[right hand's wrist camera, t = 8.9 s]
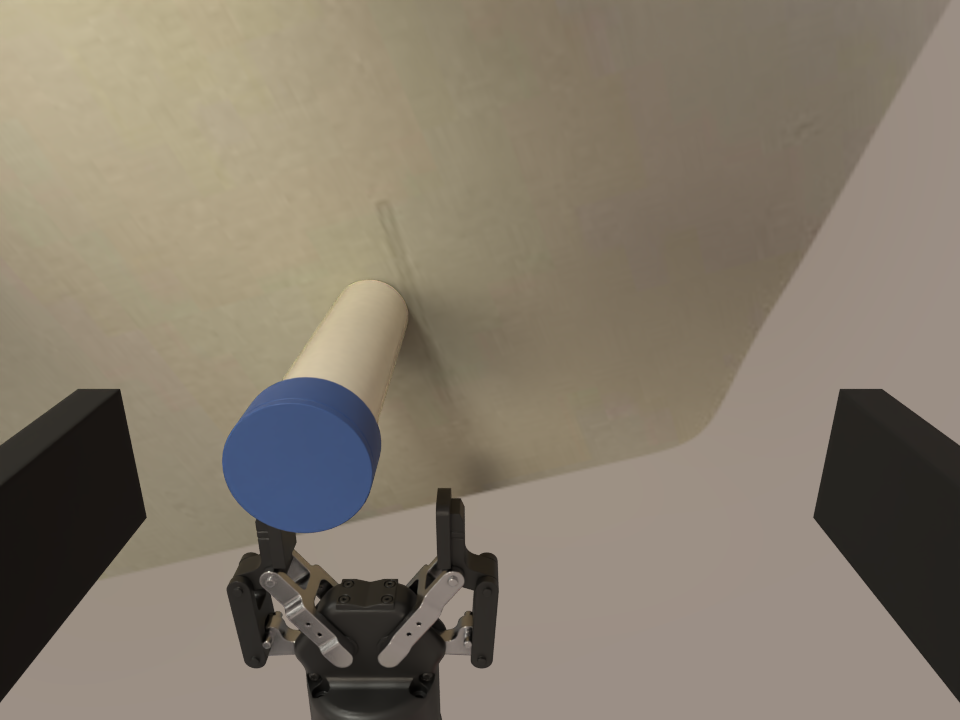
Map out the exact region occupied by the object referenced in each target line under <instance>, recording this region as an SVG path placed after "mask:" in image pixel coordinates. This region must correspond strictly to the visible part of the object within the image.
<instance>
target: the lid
mask: <svg viewBox="0 0 960 720" xmlns="http://www.w3.org/2000/svg"><path fill="white" fill-rule="evenodd" d="M380 452H381V436H380V431H379V427H378V424H377V422H376V419H375V417H374V415H373V414H372V412H371V411H370V409H369V408H368V407H367V405H366V404H365V403H364V402H363V401H362V400H361V399H360V398H359V397H358V396H357V395H356V394H354V393H353V392H352V391H350V390H349V389H347V388H345V387H343V386H342V385H339V384H337V383H335V382H332V381H329V380H325V379H320V378H314V377H297V378H292V379H287V380H283V381H280V382H278V383H276V384H274V385H271V386H270V387H268V388H267V389H265V390H264V391H262V392H261V393H260V394H259V395H258V396H257V397H256V398H255V400H254V401H253V402H252V403H251V405H250V406H249V407H248V409H247V410H246V412H245V413H244V414H243V416H242V417H241V418H240V420H239V421H238V423H237V424H236V425H235V427H234V428H233V430H232V431H231V433H230V435H229V436H228V438H227V441H226V443H225V446H224V450H223V458H222V465H223V473H224V477H225V480H226V483H227V485H228V488H229V490H230V491H231V493H232V495H233V496H234V498H235V499H236V501H237V502H238V503H239V504H240V505H241V506H242V507H243V508H244V509H245V510H246V511H247V512H248V513H249V514H251V515H252V516H253V517H255V518H256V519H258V520H259V521H261V522H263V523H265V524H267V525H269V526H272V527H274V528H277V529H280V530H284V531H289V532H295V533H314V532H320V531H325V530H328V529H332V528H334V527H336V526H339V525H341V524H343V523H344V522H346V521H348V520H349V519H350V518H351V517H353V516H354V515H355V514H356V513H357V512H358V511H359V510H360V509H361V507H362V506H363V505H364V503H365V502H366V500H367V498H368V496H369V493H370V490H371V487H372V483H373V479H374V476H375V472H376V468H377V465H378V461H379V457H380Z"/></svg>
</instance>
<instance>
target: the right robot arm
mask: <svg viewBox="0 0 960 720" xmlns="http://www.w3.org/2000/svg"><path fill="white" fill-rule="evenodd" d="M146 518H147V517H146V512H145V507H144V502H143V497H142V493H141V488H140V483H139V478H138V473H137V468H136V464H135V459H134V454H133V449H132V444H131V440H130V435H129V430H128V425H127V420H126V415H125V411H124V406H123V401H122V396H121V391H120V389H77V390H76V391H75V392H73V393H72V394H71V395H69V396H68V397H66V398H65V399H64V400H62V401H61V402H60V403H58V404H57V405H55V406H54V407H53V408H51V409H50V410H49V411H47V412H46V413H44V414H43V415H42V416H40V417H39V418H38V419H36V420H35V421H33V422H32V423H31V424H29V425H28V426H27V427H25V428H24V429H22V430H21V431H20V432H18V433H17V434H16V435H14V436H13V437H11V438H10V439H9V440H7V441H6V442H5V443H3V444H2V445H0V702H1V701H2V700H3V698H4V697H5V696H6V695H7V693H8V692H9V691H10V689H11V688H12V687H13V686H14V684H15V683H16V682H17V681H18V679H19V678H20V677H21V676H22V674H23V673H24V672H25V670H26V669H27V668H28V667H29V665H30V664H31V663H32V662H33V660H34V659H35V658H36V657H37V655H38V654H39V653H40V652H41V650H42V649H43V648H44V647H45V645H46V644H47V643H48V642H49V640H50V639H51V638H52V636H53V635H54V634H55V633H56V631H57V630H58V629H59V628H60V626H61V625H62V624H63V623H64V621H65V620H66V619H67V618H68V616H69V615H70V614H71V612H72V611H73V610H74V609H75V607H76V606H77V605H78V604H79V602H80V601H81V600H82V599H83V597H84V596H85V595H86V594H87V592H88V591H89V590H90V588H91V587H92V586H93V585H94V583H95V582H96V581H97V580H98V578H99V577H100V576H101V575H102V573H103V572H104V571H105V570H106V568H107V567H108V566H109V564H110V563H111V562H112V561H113V559H114V558H115V557H116V556H117V554H118V553H119V552H120V551H121V549H122V548H123V547H124V546H125V544H126V543H127V542H128V540H129V539H130V538H131V537H132V535H133V534H134V533H135V532H136V530H137V529H138V528H139V527H140V525H141V524H142V523H143V522H144V520H145V519H146ZM814 519H815V520H816V522H817V523H818V524H819V525H820V527H821V528H822V529H823V530H824V532H825V533H826V534H827V535H828V537H829V538H830V539H831V540H832V542H833V543H834V544H835V545H836V547H837V548H838V549H839V551H840V552H841V553H842V554H843V556H844V557H845V558H846V559H847V561H848V562H849V563H850V564H851V566H852V567H853V568H854V570H855V571H856V572H857V573H858V575H859V576H860V577H861V578H862V580H863V581H864V582H865V583H866V585H867V586H868V587H869V588H870V590H871V591H872V592H873V594H874V595H875V596H876V597H877V599H878V600H879V601H880V602H881V604H882V605H883V606H884V607H885V609H886V610H887V611H888V612H889V614H890V615H891V616H892V618H893V619H894V620H895V621H896V623H897V624H898V625H899V626H900V628H901V629H902V630H903V631H904V633H905V634H906V635H907V636H908V638H909V639H910V640H911V642H912V643H913V644H914V645H915V647H916V648H917V649H918V650H919V652H920V653H921V654H922V655H923V657H924V658H925V659H926V660H927V662H928V663H929V664H930V665H931V667H932V668H933V669H934V671H935V672H936V673H937V674H938V676H939V677H940V678H941V679H942V681H943V682H944V683H945V684H946V686H947V687H948V688H949V689H950V691H951V692H952V693H953V695H954V696H955V697H956V698H957V700H958V701H959V702H960V446H959V445H958V444H957V443H955V442H954V441H953V440H951V439H950V438H949V437H947V436H946V435H944V434H943V433H942V432H940V431H939V430H937V429H936V428H935V427H933V426H932V425H931V424H929V423H928V422H927V421H925V420H924V419H922V418H921V417H920V416H918V415H917V414H916V413H914V412H913V411H911V410H910V409H909V408H907V407H906V406H905V405H903V404H902V403H900V402H899V401H898V400H896V399H895V398H894V397H892V396H891V395H889V394H888V393H887V392H885V391H884V390H883V389H840V392H839V396H838V401H837V406H836V411H835V415H834V420H833V425H832V430H831V435H830V440H829V444H828V449H827V454H826V459H825V464H824V469H823V474H822V478H821V483H820V488H819V493H818V498H817V502H816V507H815V512H814Z"/></svg>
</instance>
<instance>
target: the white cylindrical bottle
mask: <svg viewBox="0 0 960 720" xmlns="http://www.w3.org/2000/svg"><path fill="white" fill-rule="evenodd" d="M407 325H408V310H407V306H406V303H405V301H404V300H403V298H402V296H401V295H400V294H399V293H398V292H397V291H396V290H395V289H394V288H393V287H391V286H390V285H388V284H386V283H384V282H381V281H377V280H361V281H357V282H355V283H353V284H351V285H349V286H348V287H346V288H345V289H344V290H343V291H342V292H341V293H340V295H339V296H338V298H337V299H336V301H335V302H334V303H333V305H332V306H331V308H330V309H329V311H328V312H327V314H326V315H325V317H324V318H323V320H322V321H321V323H320V324H319V326H318V327H317V329H316V330H315V332H314V333H313V335H312V336H311V338H310V339H309V341H308V342H307V344H306V345H305V346H304V348H303V349H302V351H301V352H300V354H299V355H298V357H297V358H296V360H295V361H294V363H293V364H292V366H291V367H290V369H289V370H288V372H287V373H286V375H285V376H284V378H283V379H282V381H283V380H287V379H292V378H297V377H314V378H320V379H325V380H329V381H332V382H335V383H337V384H339V385H342V386H343V387H345V388H347V389H349V390H350V391H352V392H353V393H354V394H356V395H357V396H358V397H359V398H360V399H361V400H362V401H363V402H364V403H365V404H366V405H367V407H368V408H369V409H370V411H371V412H372V414H373V415H374V417H375V419H376V422H377V424H378V421H379V417H380V414H381V411H382V407H383V404H384V401H385V398H386V394H387V391H388V388H389V384H390V381H391V378H392V374H393V371H394V368H395V365H396V361H397V358H398V355H399V351H400V348H401V345H402V342H403V338H404V335H405V332H406V328H407Z"/></svg>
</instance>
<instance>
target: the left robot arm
mask: <svg viewBox="0 0 960 720" xmlns="http://www.w3.org/2000/svg"><path fill="white" fill-rule="evenodd" d="M255 523H256V530H257V536H258V543H259V549H260V554H259V555H258V554H256V553H252V552H250V553H246V554H244V555H243V557H242V559H241V561H240V563H239V566H238V568H237V570H236V572H235V574H234V576H233V578H232V579H231V581H230V583H229V585H228V586H227V594H228V598H229V602H230V606H231V610H232V614H233V618H234V622H235V626H236V630H237V634H238V638H239V642H240V646H241V649H242V654H243V658H244V661H245V663H246V664H247V665H248V666H249V667H252V668H261V667H263V666H264V665H265V664H266V661H267V658H268V656H273V655H294V654H295V655H296V657H297V659H298V660H299V661H300V662H301V663H302V665H303V666H304V668H305V670H306V677H307V688H308V696H309V704H310V712H311V719H312V720H442V718H441V714H440V690H439V662H440V661H441V659H442V658H443V657H444V655H445V654H454V655H471V663H472V664H473V665H474V666H475V667H477V668H486V667H489V666H490V665H491V664H492V661H493V650H494V639H495V627H496V616H497V605H498V593H499V588H498V561H497V558H496V556H495V555H493V554H492V553H482V554H480V555H476V554H473V553H471V552H469V551H468V550H467V548H466V546H465V508H464V505H463V502H462V500H461V498H451V488H438V492H437V502H436V532H437V557H436V558H435V559H434V560H433V561H432V562H431V563H430V564H429V565H424V566H423V567H422V568H421V569H420V571H419V572H418V573H417V574H416V575H415V576H414V577H413V578H412V580H411V581H410V582H409V583H408V584H407V585H406V586H405V585H402V584H399V583H398V579H382V580H378V581H373V582H367V581H363V580H358V579H343V580H342V583H341V584H338V583H337V582H336V581H335V580H334V579H333V578H332V577H331V576H330V575H329V574H328V573H326V572H325V571H324V570H323V569H322V568H321V567H320V566H319V565H313V566H312V565H310V564H309V563H308V562H307V561H306V560H305V559H304V558H303V557H302V556H301V555H300V554H298V553H297V552H296V551H295V550H294V547H295V545H296V534H295V532H289V531H284V530H280V529H277V528H274V527H272V526H269V525H267V524H265V523H263V522H261V521H259V520H258V519H256V522H255ZM461 587H464V588H467V589H471V590H474V596H473V611H472V612H471V611H467V612H465V614H464V616H462V617H461V618H460V619H459V621H458V624H457V626H456V627H455V628H453V629H450V630H446V627H445V625H444V624H443V622H442V621H441V620H440V619H439V616H440V614H441V612H442V609H443V607H444V606H445V605H446V603H447V602H448V601H449V600H450V599H451V598H452V597H453V596H454V595H455V594H456V593H457V592H458V591H459V590H460V588H461ZM271 595H272V596H273V597H274V598H275V599H276V600H278V601H279V602H280V603H281V604H282V605H283V606H284V608H285V613H286V616H287V618H288V619H289V620H290V621H291V622H292V623H293V624H294V625H295V626H296V627H297V628H298V629H299V630H293V629H291V628H289V627H288V626H287V625H286V623H285V621H284V620H283V619H282V613H281V612H279V611H276V612H274V608H273V603H272V599H271ZM316 596H317V597H318V598H319V599H320V601H319V603H318V604H317V605H316V606H315V604H314V600H315V597H316Z"/></svg>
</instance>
